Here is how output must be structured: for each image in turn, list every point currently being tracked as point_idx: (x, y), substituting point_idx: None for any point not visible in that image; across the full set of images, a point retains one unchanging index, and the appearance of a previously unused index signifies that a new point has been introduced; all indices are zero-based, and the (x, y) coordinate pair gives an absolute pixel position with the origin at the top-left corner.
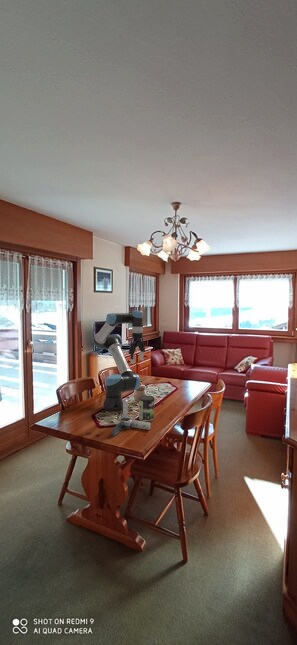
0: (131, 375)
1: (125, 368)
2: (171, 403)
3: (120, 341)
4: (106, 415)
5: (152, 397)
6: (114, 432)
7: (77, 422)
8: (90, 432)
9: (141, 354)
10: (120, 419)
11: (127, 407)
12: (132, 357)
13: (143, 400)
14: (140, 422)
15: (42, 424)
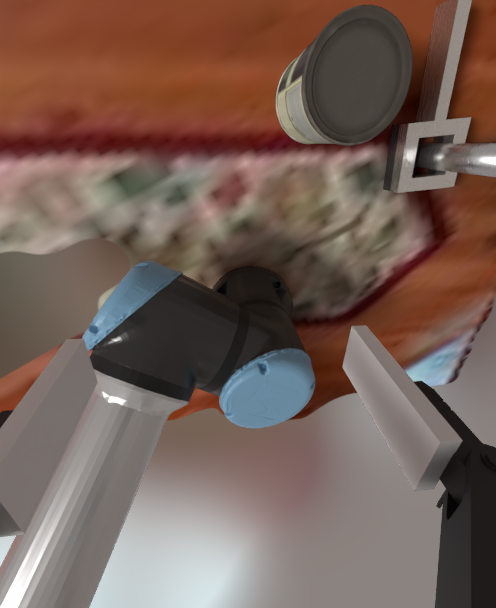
0: (167, 341)
1: (140, 426)
2: (13, 56)
3: None
4: (335, 280)
5: (335, 37)
6: None
7: (416, 319)
8: (488, 239)
9: (43, 443)
10: (438, 176)
11: (487, 143)
12: (441, 403)
13: (408, 81)
14: (456, 60)
15: (444, 378)
